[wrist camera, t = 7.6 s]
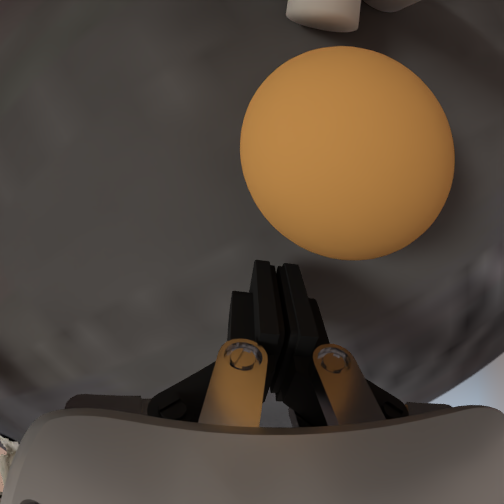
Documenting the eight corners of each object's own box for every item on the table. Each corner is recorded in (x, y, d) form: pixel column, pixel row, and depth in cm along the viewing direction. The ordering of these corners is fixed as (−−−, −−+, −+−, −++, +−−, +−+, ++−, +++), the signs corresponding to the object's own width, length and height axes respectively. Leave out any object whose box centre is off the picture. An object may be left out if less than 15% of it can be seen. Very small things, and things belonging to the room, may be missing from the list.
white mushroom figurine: (42, 455, 31) (21, 531, 15) (53, 470, 37) (37, 533, 21) (-8, 425, 29) (-33, 496, 13) (9, 446, 35) (-10, 506, 18)
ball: (212, 263, 5) (214, 210, 10) (455, 313, 6) (358, 248, 12) (303, -34, 3) (258, 58, 9) (506, 98, 4) (395, 114, 10)
